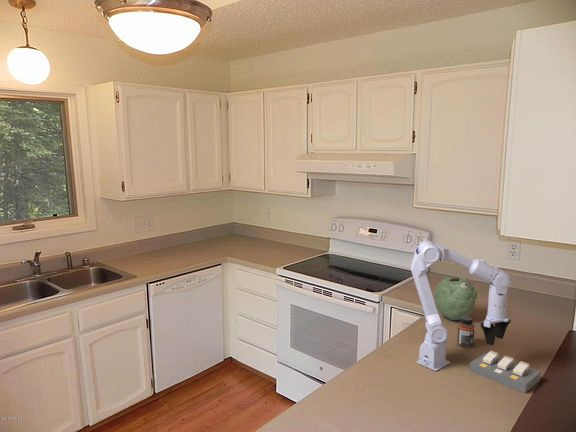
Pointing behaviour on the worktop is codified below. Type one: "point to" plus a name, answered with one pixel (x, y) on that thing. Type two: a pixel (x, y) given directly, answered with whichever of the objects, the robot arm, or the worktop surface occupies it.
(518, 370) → the rocker
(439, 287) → the cabbage
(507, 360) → the rocker
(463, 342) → the supplement bottle
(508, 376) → the switch box
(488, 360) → the rocker
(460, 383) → the worktop surface
